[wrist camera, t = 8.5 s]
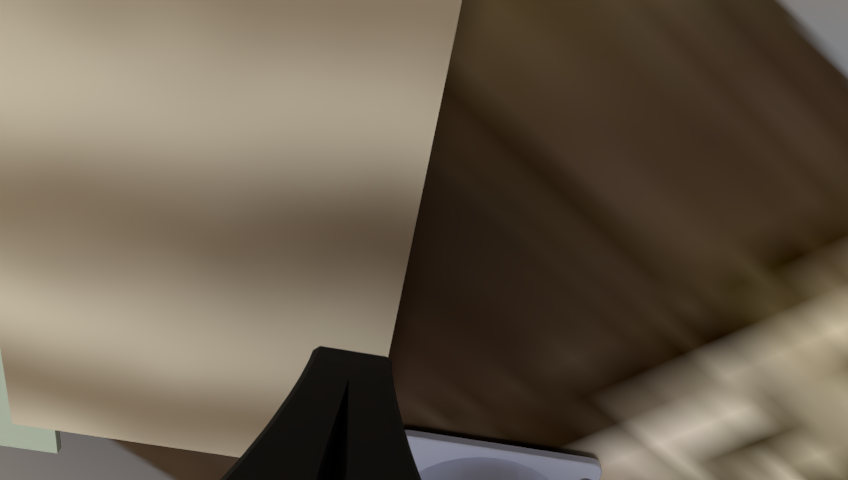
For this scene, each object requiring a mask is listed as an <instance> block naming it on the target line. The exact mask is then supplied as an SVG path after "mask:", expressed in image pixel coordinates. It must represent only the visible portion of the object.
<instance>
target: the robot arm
mask: <svg viewBox="0 0 848 480" xmlns="http://www.w3.org/2000/svg"><path fill="white" fill-rule="evenodd" d="M601 475H602V469H601V465H600V463H599V461H597V460H596V459H594V458H590V457H583V456H576V455H570V454H563V453H557V452H550V451H544V450H537V449H531V448H524V447H518V446H511V445H505V444H498V443H492V442H485V441H478V440H472V439H465V438H459V437H452V436H446V435H439V434H433V433H426V432H420V431H413V430H404V426H403V423H402V419H401V415H400V411H399V407H398V403H397V398H396V393H395V388H394V382H393V375H392V362H391V361H390V360H389V359H388V357H386V356H380V355H373V354H367V353H361V352H355V351H348V350H342V349H336V348H330V347H324V346H319V347H317V348H316V349H314V350H313V351H312V354H311V356H310V359H309V361H308V363H307V365H306V367H305V368H304V370H303V372H302V374H301V376H300V377H299V379H298V381H297V382H296V384H295V385H294V387H293V388H292V390H291V392H290V393H289V395H288V396H287V398H286V399H285V401H284V402H283V403H282V405H281V406H280V407H279V409H278V410H277V412H276V413H275V414H274V416H273V417H272V419H271V420H270V421H269V423H268V424H267V425H266V427H265V428H264V429H263V431H262V432H261V433H260V434H259V436H258V437H257V438H256V439H255V440H254V442H253V443H252V444H251V445H250V446H249V448H248V449H247V450H246V451H245V452H244V454H243V455H242V456H241V457H240V459H239V460H238V461H237V462H236V463H235V464H234V465H233V467H232V468H231V469H230V470H229V471H228V472H227V473H226V474H225V475H224V476H223V477H222V479H221V480H599V479H600V477H601ZM583 478H586V479H583Z"/></svg>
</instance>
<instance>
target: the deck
mask: <svg viewBox="0 0 848 480" xmlns="http://www.w3.org/2000/svg"><path fill="white" fill-rule="evenodd" d="M461 4H462V0H0V350H1V356H2V363H3V369H4V375H5V382H6V388H7V395H8V401H9V407H10V414H11V420H12V424H16V425H23V426H30V427H37V428H44V429H50V430H57V431H64V432H71V433H77V434H84V435H91V436H98V437H105V438H111V439H118V440H125V441H132V442H138V443H145V444H152V445H159V446H166V447H172V448H179V449H186V450H193V451H199V452H206V453H213V454H220V455H227V456H233V457H241V456H242V455H243V454H244V452H245V451H246V450H247V449H248V448H249V446H250V445H251V444H252V443H253V442H254V440H255V439H256V438H257V437H258V436H259V434H260V433H261V432H262V431H263V429H264V428H265V427H266V425H267V424H268V423H269V421H270V420H271V419H272V417H273V416H274V414H275V413H276V412H277V410H278V409H279V407H280V406H281V405H282V403H283V402H284V401H285V399H286V398H287V396H288V395H289V393H290V392H291V390H292V388H293V387H294V385H295V384H296V382H297V381H298V379H299V377H300V376H301V374H302V372H303V370H304V368H305V367H306V365H307V363H308V361H309V359H310V356H311V354H312V351H313V350H314V349H316V348H317V347H319V346H324V347H330V348H336V349H342V350H348V351H355V352H361V353H367V354H373V355H380V356H386V357H388V355H389V350H390V346H391V341H392V336H393V331H394V326H395V322H396V317H397V312H398V307H399V302H400V297H401V293H402V288H403V283H404V278H405V273H406V269H407V264H408V259H409V254H410V249H411V244H412V240H413V235H414V230H415V225H416V220H417V216H418V211H419V206H420V201H421V196H422V191H423V187H424V182H425V177H426V172H427V167H428V163H429V158H430V153H431V148H432V143H433V138H434V134H435V129H436V124H437V119H438V114H439V110H440V105H441V100H442V95H443V90H444V86H445V81H446V76H447V71H448V66H449V61H450V57H451V52H452V47H453V42H454V37H455V33H456V28H457V23H458V18H459V13H460V8H461Z"/></svg>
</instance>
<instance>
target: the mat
mask: <svg viewBox="0 0 848 480" xmlns="http://www.w3.org/2000/svg"><path fill="white" fill-rule="evenodd" d="M0 445H2V446H9V447H16V448H23V449H30V450H37V451H44V452H50V453H58V452H59V450H60V449H61V441H60V433H59V431H57V430H50V429H44V428H37V427H30V426H23V425H16V424H12V420H11V414H10V407H9V401H8V395H7V388H6V382H5V375H4V369H3V363H2V356H1V350H0Z"/></svg>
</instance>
